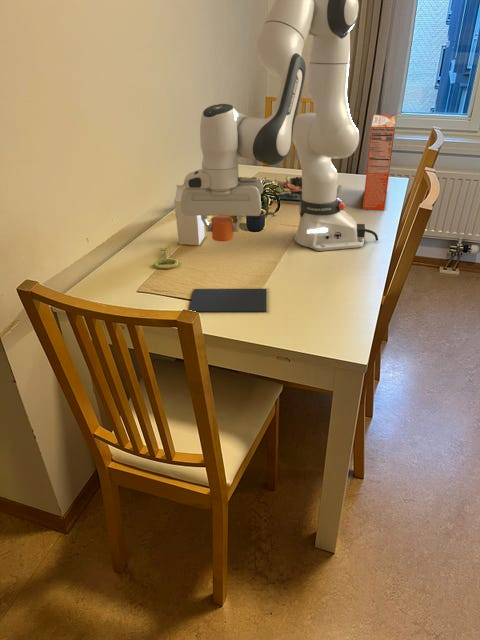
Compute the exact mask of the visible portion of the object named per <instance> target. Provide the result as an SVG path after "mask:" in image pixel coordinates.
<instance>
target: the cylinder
mask: <svg viewBox="0 0 480 640" xmlns="http://www.w3.org/2000/svg"><path fill="white" fill-rule="evenodd" d="M210 223H212V232H211V238H212V240H213V241H216V242H229V241H231V240H233V239H234V232H233V223H234V218H233V217H232V216H212V218H211V221H210Z"/></svg>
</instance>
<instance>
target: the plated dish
mask: <svg viewBox="0 0 480 640" xmlns="http://www.w3.org/2000/svg"><path fill="white" fill-rule="evenodd" d="M264 181H269V183H270V182H271V183H273V184H279V187H278V188H277V189H275V190H270V189H266V190H267V191H273V192H276V193H277V194H278V196H279V198H280V203H281V204H293V205H300V198H301V197H302V175H300V176H295V177H293V178H290V177H289V176H288V175H287V176H286V177H285V181H277V180H276V179H274V180H267V177H266V176H264ZM339 188H340V185H337V191H338V190H339ZM272 199H273V201H272V202H271V203H278V202H277V201H276V198H275V197H272Z"/></svg>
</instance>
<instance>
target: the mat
mask: <svg viewBox="0 0 480 640" xmlns="http://www.w3.org/2000/svg"><path fill="white" fill-rule="evenodd" d="M189 305H190V306H189V309H188V311H189V310H192V311H196V312H195V313H267V288H194V289H193V293H192V297H191V301H190V304H189Z"/></svg>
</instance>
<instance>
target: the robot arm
mask: <svg viewBox="0 0 480 640" xmlns="http://www.w3.org/2000/svg"><path fill="white" fill-rule="evenodd" d="M359 13H360V0H275V1H274V2H273V4H272V6H271V8H270V9H269V12H268V13H267V16H266V17H265V20H264V22H263V25H262V27H261V30H260V33H259V35H258V38H257V41H256V47H255V49H256V54H257V58H258V61H259V63H260V64H261V66H262V67H263V68H264V69H265V70H266V71H267V72H268V73H269V74H270V75H272V76H273V77H275V78H276V79H278V80H279V88H278V92H277V96H276V99H275V103H274V108H273V111H272V114H271V115H270V116H269V117H266V118H263V117H256V116H255V117H254V116H249V115H246V114H243V113H240V112H238V111H237V110H236V109H235V107H234V106H233V105H232V104H229V103H217V104H213V105H209V106H208V107H206V108H205V109H204V110H203V111H202V113H201V116H200V123H199V124H200V125H199V141H200V142H199V143H200V150H201V153H202V160H201V168H199V169H196V170H194V171H190V172H188V173H187V174H186V176H185V177H184V179H183V184H184V186H185V188H184V190H183V192H182V196H181V212H182V213H183V214H184V215H185V216H201V220H202V221H203V223H204V227H205V228H206V229H205V231H206V233H212V222H209V221H208V216H209V217H210V216H211V217H215V216H230V217H232V216H233V217H234V216H235V217H236V222H235V223H234V222H233V233H239V231H240V229H239V228H240V225H241V223H242V222H243V219H244V216H245V217H251V216H252V217H255V216H256V217H258V216H259V215H261V213H262V210H263V209H262V206H263V205H262V201H261V194H262V193H263V183H262V181H263V180H261V179H259V178H258V177H255V176H252V177H247V176H246V177H245V176H243V177H242V176H239V161H238V158H242V159H247V160H253V161H256V162H259V163H262V164H265V165H269V166H275V165H278V164H279V163H280V162H282V161H283V160H284V159H285V158H286V157H287V156H288V155H289V153H290V151H291V149H292V144H293V145H294V147H295V150H296V152H297V156H298V160H299V164H300V165H299V166H300V170H301V177H302V197H301V198H300V204H299V222H298V228H297V232H296V235H295V238H294V240H295V242H296V243H297V244H299V245H300V246H303V247H307V248H309V249H310V248H311V249H312V250H314V251H317V252H322V251H323V252H324V251H335V250H345V249H356V248H357V249H358V248H362V247H363V246H364V244H365V235H366V233H367V234H368V233H369V234H372V235H373V236H374V239H375V242H377V241H379V236H378V234H377V233H376V232H375V231H373V230H371V229H367V228H366V224H365V223H357V221H356V220H355V218H354V217H353V216H351V215H350V214H349V213H348V212H346V211H344V210H345V209H346V206H347V205H346V204H345V202H343V200H342V199H341V198H340V197H337V196H338V190H337V186H339V185H338V184H339V174H338V170H337V169H336V168H335V166H334V165H333V162H332V159H347V158H349V157H351V156H352V155H353V154H354V153H355V152H356V150H357V148H358V146H359V143H360V133H359V129H358V127H356V125H355V123H354V122H353V120H352V117H351V114H350V108H349V103H348V79H349V78H348V77H349V69H350V58H351V32H350V31H351V30H352V29H353V28H354V26H355V24H356V22H357V20H358V17H359ZM308 36H312V39H311V45H310V51H309V52H310V53H309V62H308V74H307V75H308V77H307V89H306V91H307V95H308V96H309V98H310V100H311V101H312V103H313V108H314V110H315V112H306V113H305V112H304V113H299V114H298V115H297V113H298V109H299V106H300V101H301V97H302V92H303V89H304V84H305V78H306V72H307V71H306V70H307V68H306V61H305V59H304V58H303V56H302V55H303V50H304V46H305V44H306V42H307V39H308Z"/></svg>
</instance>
